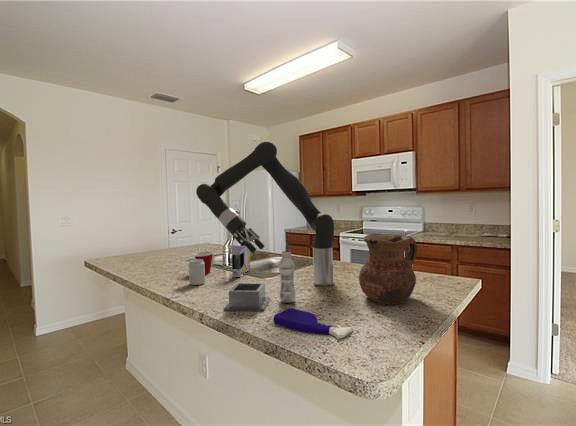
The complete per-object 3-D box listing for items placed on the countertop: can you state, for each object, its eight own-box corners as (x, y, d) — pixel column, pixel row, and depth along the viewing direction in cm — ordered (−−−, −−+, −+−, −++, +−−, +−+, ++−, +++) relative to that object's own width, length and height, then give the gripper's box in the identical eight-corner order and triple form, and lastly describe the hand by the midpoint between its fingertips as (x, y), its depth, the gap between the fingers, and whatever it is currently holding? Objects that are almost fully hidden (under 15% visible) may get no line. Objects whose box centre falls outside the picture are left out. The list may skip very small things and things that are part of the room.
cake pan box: (239, 278, 158) (238, 245, 157) (230, 278, 159) (229, 245, 158) (251, 270, 176) (250, 240, 176) (243, 270, 177) (242, 240, 177)
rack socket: (270, 299, 123) (269, 282, 122) (263, 311, 110) (263, 292, 109) (234, 299, 124) (233, 282, 124) (224, 310, 112) (223, 292, 111)
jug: (386, 312, 105) (385, 241, 104) (347, 296, 124) (346, 235, 123) (429, 301, 116) (428, 236, 114) (387, 287, 134) (386, 231, 133)
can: (208, 282, 152) (207, 258, 151) (198, 286, 145) (197, 261, 144) (196, 281, 155) (195, 258, 154) (186, 285, 148) (185, 260, 147)
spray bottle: (270, 316, 98) (338, 336, 84) (290, 306, 107) (355, 322, 92) (270, 325, 99) (338, 346, 84) (290, 314, 107) (355, 332, 92)
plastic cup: (190, 274, 169) (189, 253, 169) (204, 270, 179) (203, 250, 178) (204, 276, 164) (203, 254, 163) (218, 272, 173) (217, 251, 172)
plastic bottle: (298, 299, 121) (296, 250, 121) (292, 305, 115) (291, 253, 114) (283, 298, 124) (281, 249, 123) (277, 304, 117) (275, 252, 116)
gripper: (229, 216, 117) (258, 245, 114) (245, 214, 131) (271, 240, 128) (218, 229, 119) (245, 259, 116) (234, 226, 132) (259, 252, 130)
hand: (259, 249), depth 122 cm, fingers open, 8 cm apart
